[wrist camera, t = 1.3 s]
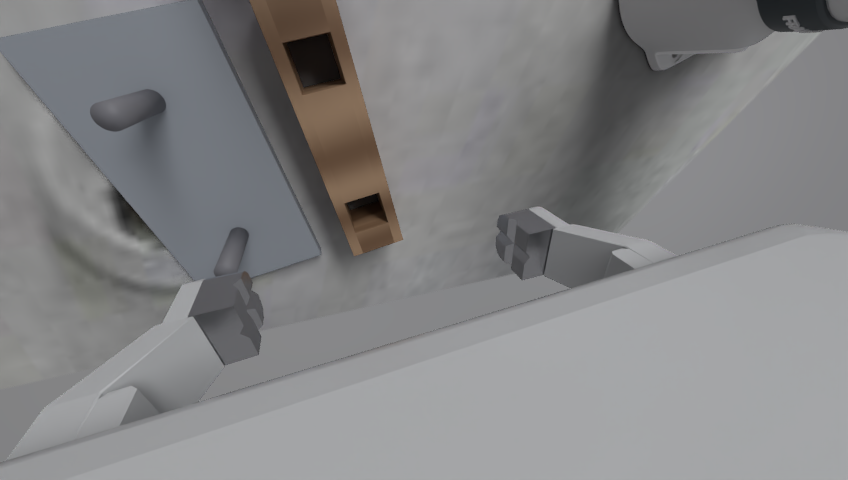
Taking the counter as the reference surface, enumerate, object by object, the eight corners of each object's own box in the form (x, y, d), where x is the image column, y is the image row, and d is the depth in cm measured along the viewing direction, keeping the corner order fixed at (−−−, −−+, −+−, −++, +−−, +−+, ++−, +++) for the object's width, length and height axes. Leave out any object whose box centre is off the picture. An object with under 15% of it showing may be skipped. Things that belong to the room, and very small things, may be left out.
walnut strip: (259, 7, 22) (248, -1, 18) (327, -7, 23) (330, -18, 19) (348, 231, 34) (354, 256, 30) (392, 217, 35) (403, 239, 31)
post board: (201, 0, 21) (161, -16, 16) (321, 248, 34) (323, 290, 28) (5, 39, 20) (-122, 37, 14) (208, 285, 32) (185, 338, 26)
